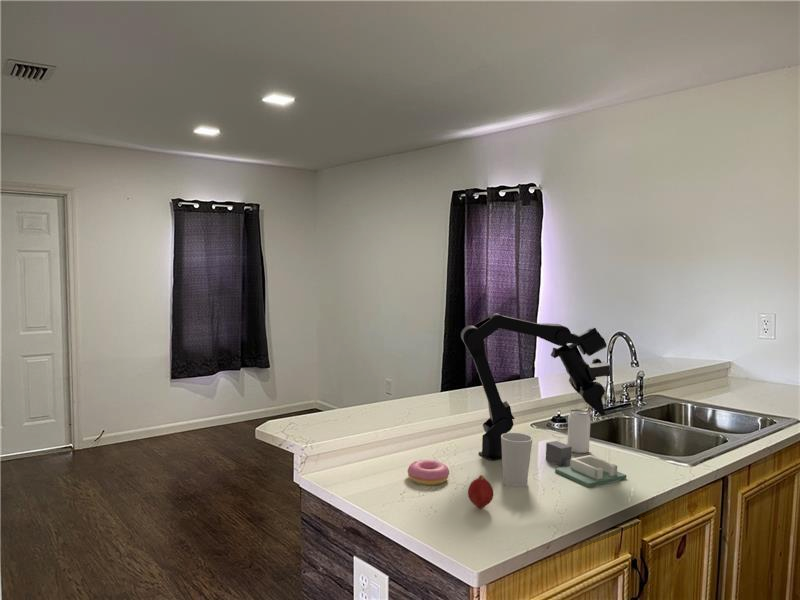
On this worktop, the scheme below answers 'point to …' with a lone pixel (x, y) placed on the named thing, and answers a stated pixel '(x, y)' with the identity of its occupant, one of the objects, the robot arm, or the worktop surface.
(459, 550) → the worktop surface
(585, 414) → the can
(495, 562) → the worktop surface
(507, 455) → the cup
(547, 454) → the plug
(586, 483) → the board
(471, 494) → the onion
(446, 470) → the doughnut
